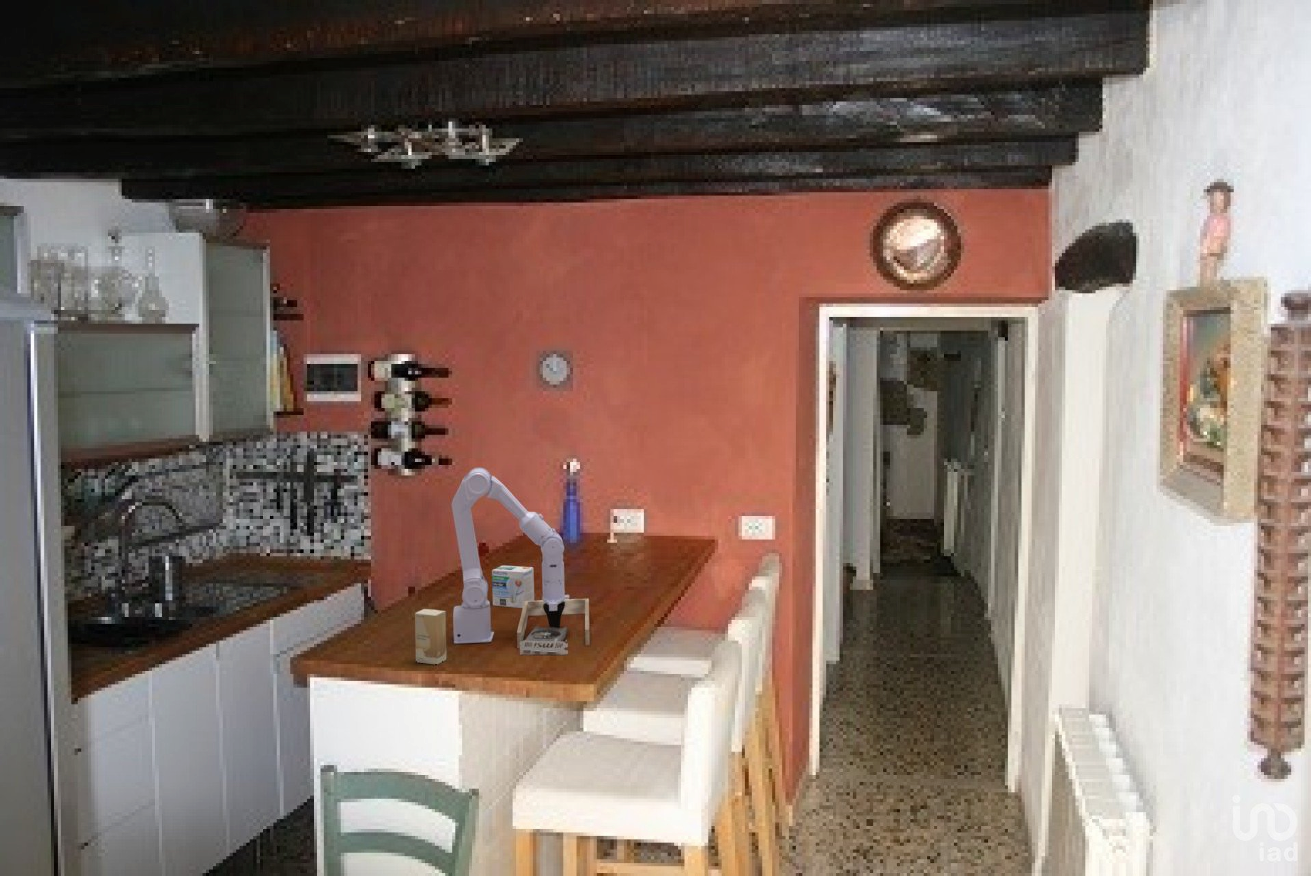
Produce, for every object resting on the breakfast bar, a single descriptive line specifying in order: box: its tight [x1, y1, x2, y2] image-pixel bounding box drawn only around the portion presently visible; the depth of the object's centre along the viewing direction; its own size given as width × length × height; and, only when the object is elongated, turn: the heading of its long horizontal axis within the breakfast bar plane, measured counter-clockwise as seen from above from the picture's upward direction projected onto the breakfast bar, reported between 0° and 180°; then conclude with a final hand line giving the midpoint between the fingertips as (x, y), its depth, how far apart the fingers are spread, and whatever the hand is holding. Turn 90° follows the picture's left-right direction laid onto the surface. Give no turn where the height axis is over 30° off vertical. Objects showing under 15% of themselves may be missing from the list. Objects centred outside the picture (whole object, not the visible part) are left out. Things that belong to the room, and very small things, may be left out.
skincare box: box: [414, 608, 447, 665], centre depth 235 cm, size 6×4×12 cm
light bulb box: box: [491, 564, 535, 609], centre depth 287 cm, size 11×7×11 cm, turn 70°
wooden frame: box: [516, 598, 591, 649], centre depth 261 cm, size 18×31×4 cm, turn 4°
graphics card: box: [519, 625, 569, 656], centre depth 247 cm, size 17×4×12 cm
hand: (554, 630), depth 256 cm, fingers closed
